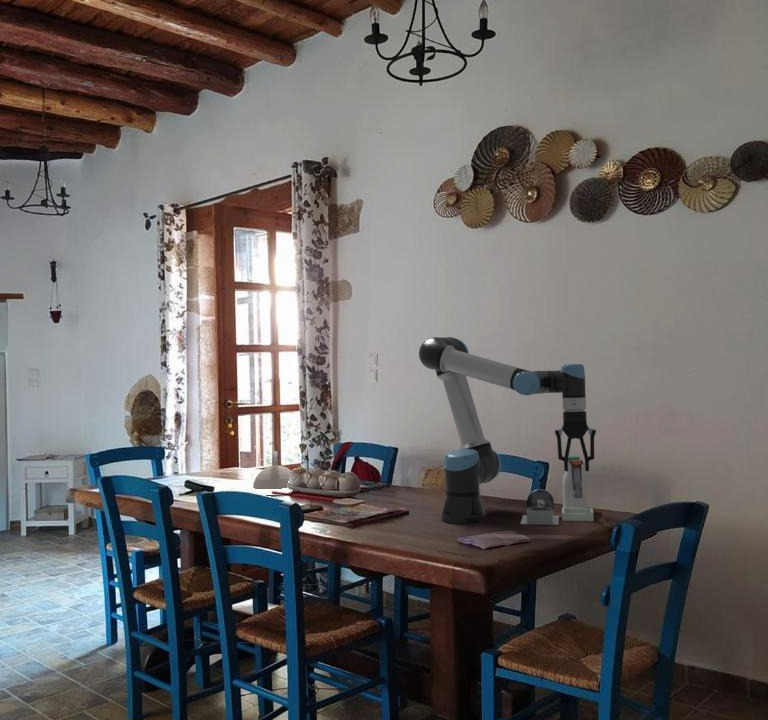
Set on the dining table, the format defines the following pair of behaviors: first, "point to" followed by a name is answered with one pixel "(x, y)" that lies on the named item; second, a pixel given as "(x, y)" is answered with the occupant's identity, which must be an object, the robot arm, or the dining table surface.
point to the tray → (577, 514)
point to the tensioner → (540, 509)
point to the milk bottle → (567, 490)
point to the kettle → (273, 475)
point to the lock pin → (577, 478)
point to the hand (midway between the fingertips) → (577, 481)
